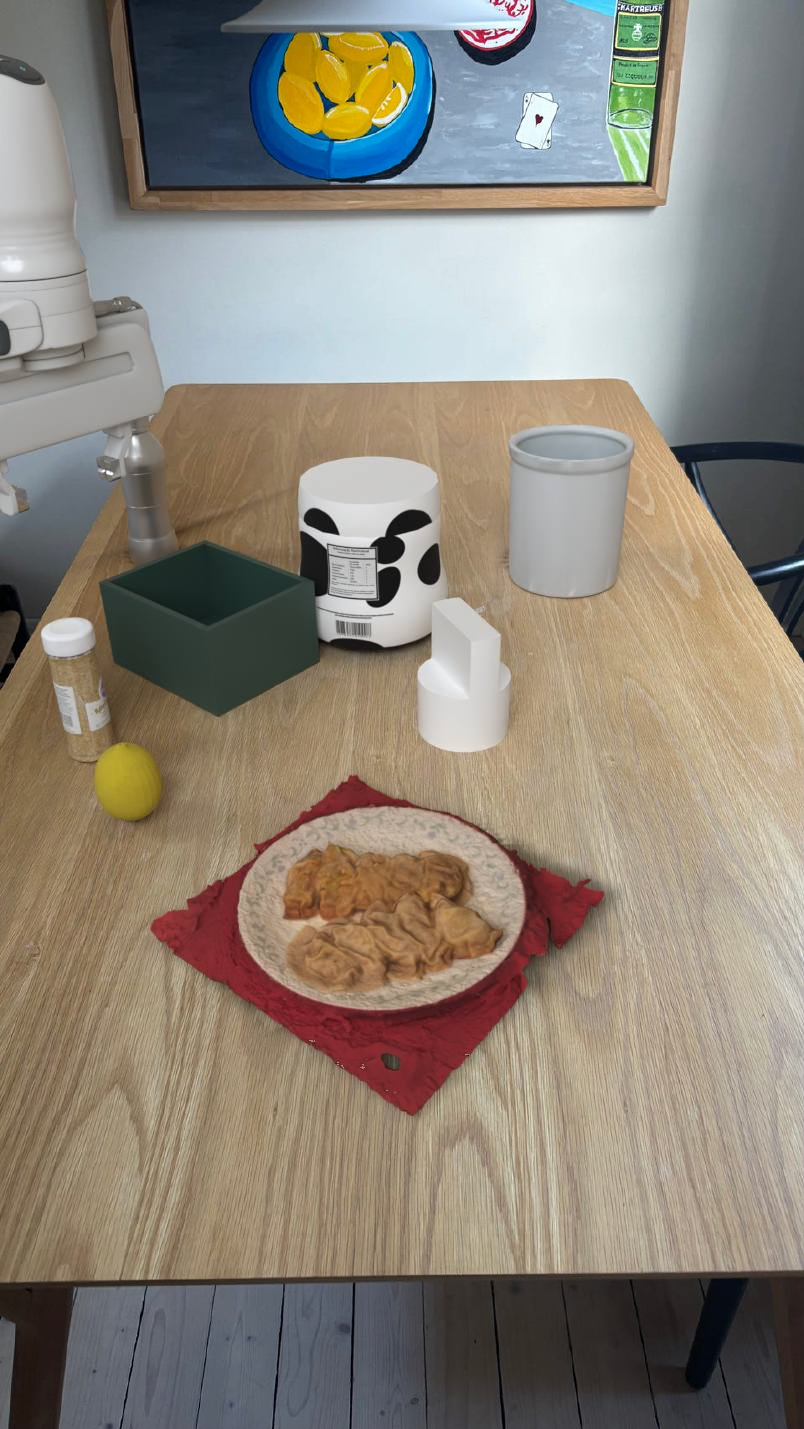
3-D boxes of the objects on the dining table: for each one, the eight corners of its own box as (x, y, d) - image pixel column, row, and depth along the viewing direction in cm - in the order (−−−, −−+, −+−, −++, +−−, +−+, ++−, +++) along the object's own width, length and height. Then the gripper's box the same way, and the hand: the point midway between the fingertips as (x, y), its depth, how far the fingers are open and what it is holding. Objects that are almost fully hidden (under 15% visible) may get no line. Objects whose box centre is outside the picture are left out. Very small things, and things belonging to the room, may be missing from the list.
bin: (113, 662, 114) (98, 581, 108) (214, 616, 123) (205, 539, 118) (218, 717, 104) (207, 631, 98) (319, 662, 113) (314, 580, 108)
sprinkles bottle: (121, 756, 98) (97, 632, 91) (73, 768, 96) (44, 643, 89) (111, 732, 102) (87, 611, 94) (64, 744, 100) (36, 621, 93)
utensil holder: (485, 561, 135) (489, 429, 126) (587, 546, 139) (599, 417, 130) (531, 608, 123) (540, 467, 114) (641, 590, 127) (658, 452, 118)
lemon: (145, 793, 93) (131, 718, 89) (179, 819, 90) (167, 743, 85) (90, 820, 90) (74, 744, 86) (124, 848, 86) (108, 771, 82)
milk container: (407, 585, 129) (406, 444, 120) (474, 643, 116) (478, 491, 106) (277, 613, 123) (265, 467, 113) (332, 678, 110) (323, 520, 100)
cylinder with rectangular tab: (403, 714, 104) (401, 608, 97) (482, 695, 107) (486, 590, 100) (441, 761, 97) (442, 649, 90) (524, 739, 100) (531, 629, 93)
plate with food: (354, 790, 93) (352, 759, 91) (604, 906, 79) (606, 872, 77) (148, 942, 78) (140, 908, 76) (411, 1119, 64) (409, 1083, 62)
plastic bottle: (123, 575, 133) (96, 421, 122) (143, 554, 139) (118, 405, 128) (170, 578, 132) (147, 423, 121) (188, 556, 138) (168, 407, 127)
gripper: (117, 287, 84) (141, 453, 91) (-122, 332, 70) (-71, 523, 77) (169, 296, 80) (189, 468, 88) (-71, 345, 67) (-23, 543, 74)
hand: (66, 494), depth 82 cm, fingers open, 8 cm apart
